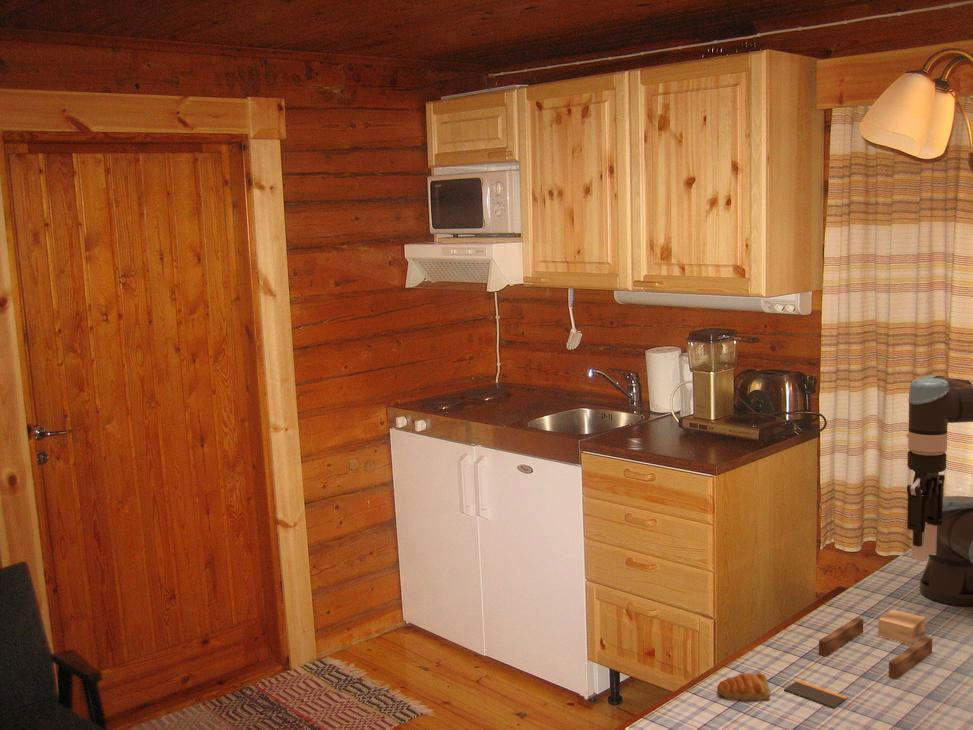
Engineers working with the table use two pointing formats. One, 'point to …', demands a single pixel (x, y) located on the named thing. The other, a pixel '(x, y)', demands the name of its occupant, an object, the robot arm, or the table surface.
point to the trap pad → (815, 694)
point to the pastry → (745, 687)
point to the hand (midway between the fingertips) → (924, 556)
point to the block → (901, 626)
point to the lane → (895, 666)
